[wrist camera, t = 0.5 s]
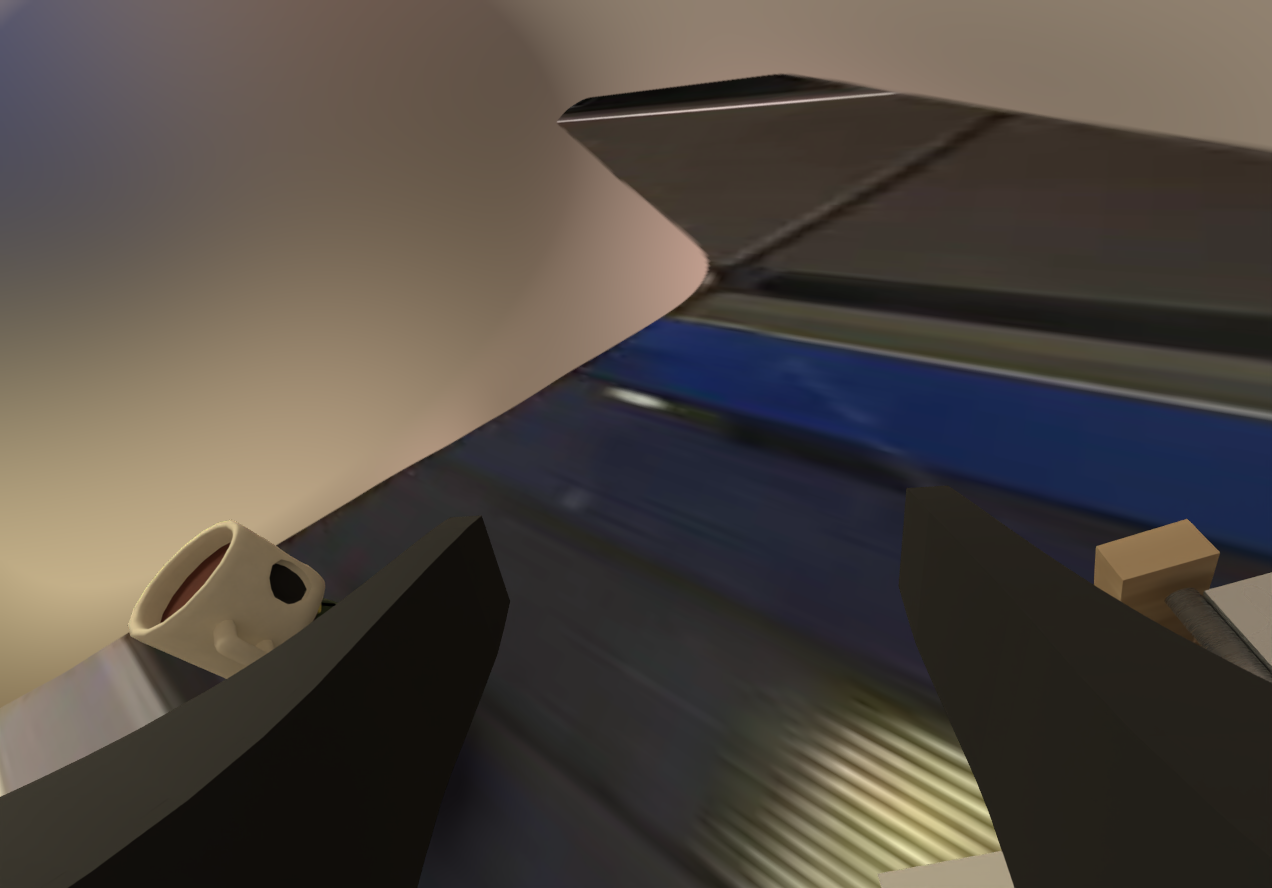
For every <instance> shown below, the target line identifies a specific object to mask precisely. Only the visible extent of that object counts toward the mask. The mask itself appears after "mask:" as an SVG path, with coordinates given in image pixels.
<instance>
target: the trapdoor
mask: <svg viewBox="0 0 1272 888" xmlns="http://www.w3.org/2000/svg"><path fill="white" fill-rule="evenodd" d="M1164 601H1165V603H1166V604H1167V605H1168V607H1169V608H1170V609H1171V610H1172V611H1173V613H1174V614H1175V615H1176V616H1177V617H1178V619H1179V620H1180V621H1181V622H1182V624H1183V625H1184V626H1185V627H1186V628H1187V630H1188V631H1189V632H1190V633H1191V634H1192V636H1193V637H1194V638H1195V639H1196V640H1197V642H1198V643H1199V644H1200V645H1201V646H1202V647H1203V648H1205V649H1207V650H1209V651H1210V652H1212V653H1214V654H1216V655H1218V656H1220V657H1222V658H1224V659H1226V660H1227V661H1229V662H1231V663H1233V664H1235V665H1237V666H1239V667H1241V668H1243V669H1245V670H1247V671H1249V672H1251V673H1253V674H1255V675H1257V676H1259V677H1261V678H1263V679H1265V680H1267V681H1269V682H1271V683H1272V573H1268V574H1264V575H1261V576H1257V577H1253V578H1250V579H1246V580H1242V581H1239V582H1235V583H1231V584H1228V585H1224V586H1220V587H1217V588H1213V589H1209V590H1206V591H1204V594H1203V596H1202V595H1201V594H1200V593H1199V592H1198V591H1197V590H1196V589H1195V588H1185V589H1181V590H1178V591H1176V592H1173V593H1172V594H1170V595H1169V596H1167V597H1166V598H1165V600H1164Z"/></svg>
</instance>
